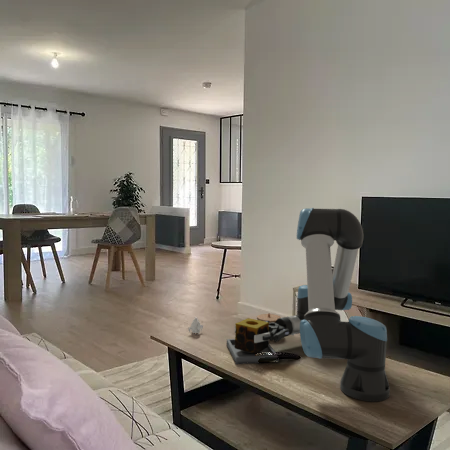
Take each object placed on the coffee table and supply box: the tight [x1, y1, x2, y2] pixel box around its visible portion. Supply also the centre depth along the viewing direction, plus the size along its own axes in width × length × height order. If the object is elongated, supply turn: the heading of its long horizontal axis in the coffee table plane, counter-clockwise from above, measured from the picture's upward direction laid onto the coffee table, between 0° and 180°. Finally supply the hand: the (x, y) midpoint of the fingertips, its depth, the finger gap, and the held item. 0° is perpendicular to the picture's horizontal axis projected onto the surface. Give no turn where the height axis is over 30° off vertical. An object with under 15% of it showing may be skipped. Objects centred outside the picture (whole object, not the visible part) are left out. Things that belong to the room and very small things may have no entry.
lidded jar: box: [256, 313, 282, 335], centre depth 197 cm, size 11×11×9 cm
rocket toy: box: [187, 316, 204, 335], centre depth 195 cm, size 5×5×8 cm
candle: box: [234, 317, 270, 354], centre depth 173 cm, size 10×10×10 cm
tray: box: [226, 338, 279, 365], centre depth 173 cm, size 20×16×2 cm
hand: (244, 333), depth 171 cm, fingers closed on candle, 13 cm apart
